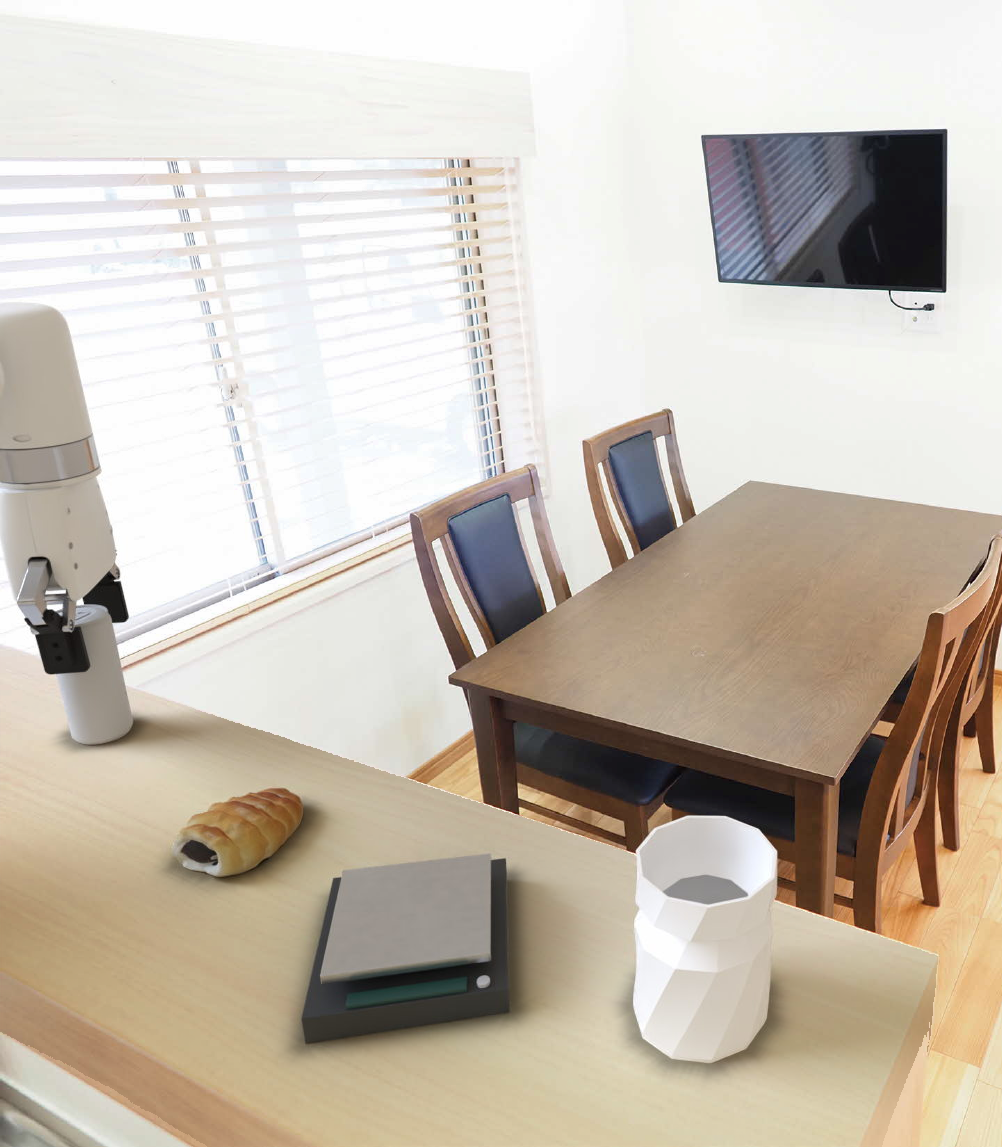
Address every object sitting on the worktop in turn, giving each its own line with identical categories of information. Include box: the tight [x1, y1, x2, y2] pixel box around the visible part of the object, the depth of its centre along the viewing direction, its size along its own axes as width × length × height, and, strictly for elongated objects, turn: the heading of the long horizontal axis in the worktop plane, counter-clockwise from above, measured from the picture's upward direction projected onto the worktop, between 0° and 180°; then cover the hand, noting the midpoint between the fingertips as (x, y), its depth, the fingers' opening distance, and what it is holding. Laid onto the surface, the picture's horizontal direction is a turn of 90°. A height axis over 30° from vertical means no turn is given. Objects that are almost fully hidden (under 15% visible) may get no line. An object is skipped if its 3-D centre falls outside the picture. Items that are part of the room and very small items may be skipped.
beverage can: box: [54, 604, 134, 746], centre depth 87 cm, size 5×5×12 cm
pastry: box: [170, 787, 304, 878], centre depth 75 cm, size 9×7×4 cm
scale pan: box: [320, 853, 492, 985], centre depth 65 cm, size 10×10×1 cm
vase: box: [632, 815, 778, 1064], centre depth 61 cm, size 9×9×12 cm
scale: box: [300, 857, 511, 1045], centre depth 66 cm, size 12×13×2 cm
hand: (90, 645), depth 86 cm, fingers open, 9 cm apart
